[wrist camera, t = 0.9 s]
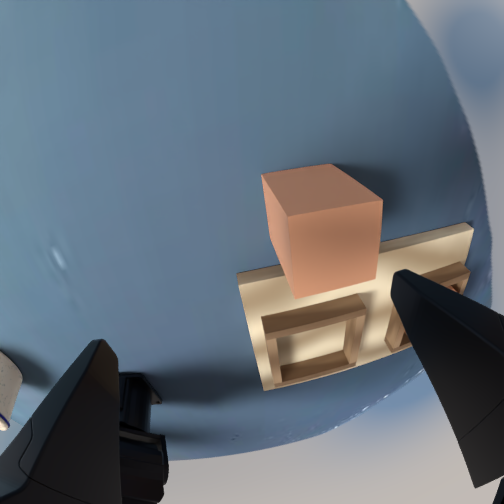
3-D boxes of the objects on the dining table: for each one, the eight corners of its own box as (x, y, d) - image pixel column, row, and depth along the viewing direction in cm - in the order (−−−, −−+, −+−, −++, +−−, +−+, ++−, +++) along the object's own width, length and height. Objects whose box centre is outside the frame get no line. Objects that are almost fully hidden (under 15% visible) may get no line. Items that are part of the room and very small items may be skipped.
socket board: (433, 327, 32) (464, 372, 25) (262, 380, 31) (275, 444, 24) (465, 222, 23) (519, 266, 16) (236, 273, 22) (251, 360, 15)
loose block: (332, 225, 22) (375, 279, 16) (270, 238, 21) (294, 299, 15) (330, 163, 19) (383, 199, 13) (261, 174, 19) (287, 216, 13)
